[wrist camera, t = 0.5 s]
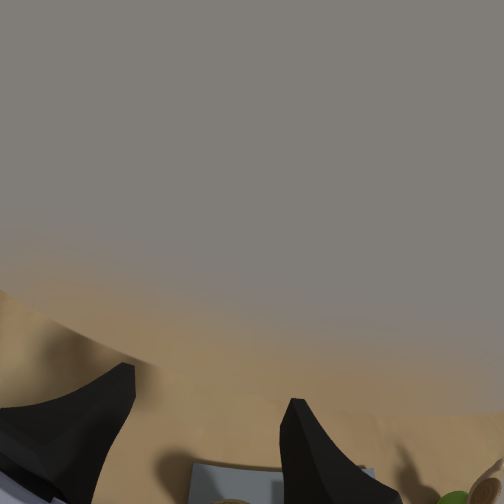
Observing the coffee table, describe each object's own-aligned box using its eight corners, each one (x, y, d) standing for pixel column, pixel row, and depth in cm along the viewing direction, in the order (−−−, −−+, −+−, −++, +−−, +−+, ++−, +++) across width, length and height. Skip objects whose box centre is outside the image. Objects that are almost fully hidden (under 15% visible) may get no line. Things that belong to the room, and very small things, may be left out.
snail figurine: (453, 495, 19) (521, 454, 13) (446, 534, 14) (522, 499, 8) (428, 490, 21) (498, 448, 15) (418, 531, 16) (498, 498, 10)
